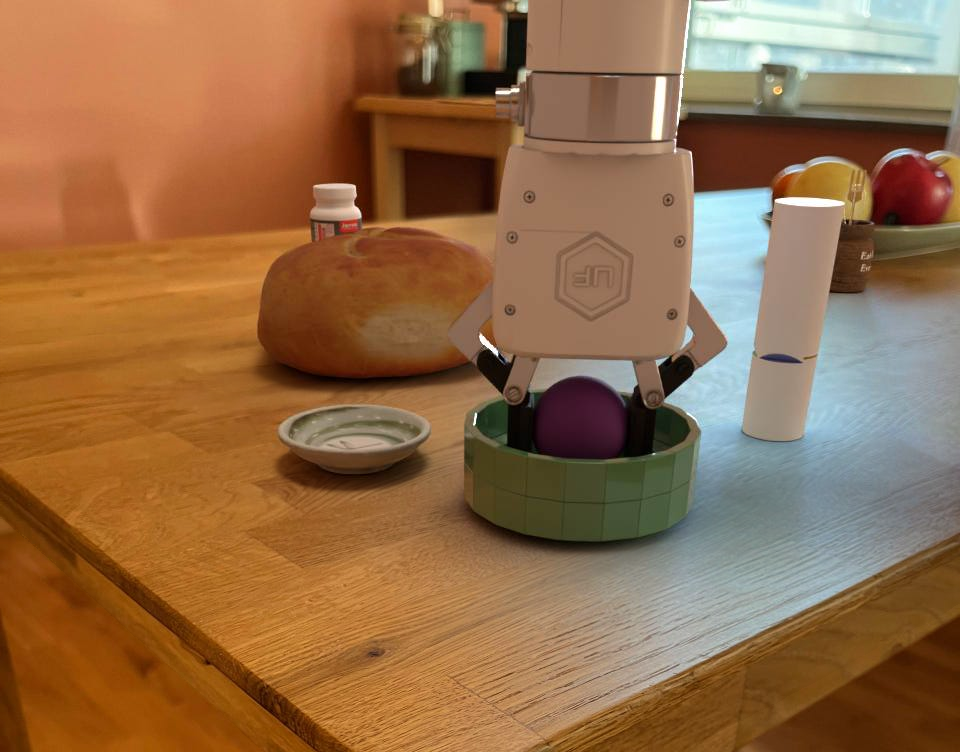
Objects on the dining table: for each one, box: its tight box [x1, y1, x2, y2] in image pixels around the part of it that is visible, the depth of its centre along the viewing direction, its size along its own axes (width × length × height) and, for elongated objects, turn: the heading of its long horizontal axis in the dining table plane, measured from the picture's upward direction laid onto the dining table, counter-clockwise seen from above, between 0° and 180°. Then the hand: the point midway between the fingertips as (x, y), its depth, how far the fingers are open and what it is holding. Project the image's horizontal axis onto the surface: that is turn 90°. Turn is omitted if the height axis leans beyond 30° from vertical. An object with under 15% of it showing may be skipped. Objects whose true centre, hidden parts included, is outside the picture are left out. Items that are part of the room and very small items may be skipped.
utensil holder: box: [829, 169, 875, 293], centre depth 113 cm, size 6×6×12 cm
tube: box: [741, 197, 846, 442], centre depth 68 cm, size 4×4×15 cm
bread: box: [256, 226, 498, 379], centre depth 86 cm, size 23×23×10 cm
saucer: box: [277, 403, 432, 475], centre depth 65 cm, size 10×10×2 cm
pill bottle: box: [309, 183, 363, 242], centre depth 114 cm, size 6×6×10 cm
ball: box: [532, 375, 629, 460], centre depth 58 cm, size 6×6×6 cm
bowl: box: [463, 388, 702, 543], centre depth 59 cm, size 13×13×5 cm
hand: (577, 464), depth 59 cm, fingers closed on ball, 5 cm apart
